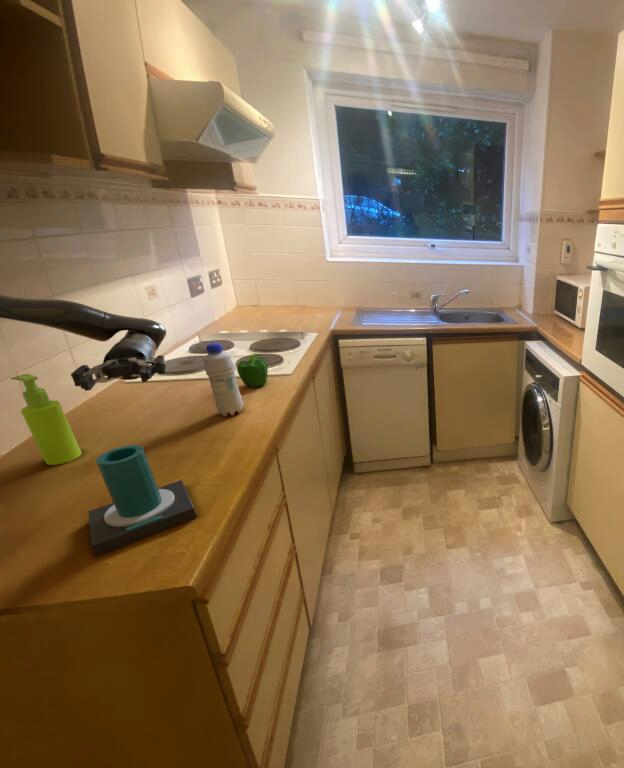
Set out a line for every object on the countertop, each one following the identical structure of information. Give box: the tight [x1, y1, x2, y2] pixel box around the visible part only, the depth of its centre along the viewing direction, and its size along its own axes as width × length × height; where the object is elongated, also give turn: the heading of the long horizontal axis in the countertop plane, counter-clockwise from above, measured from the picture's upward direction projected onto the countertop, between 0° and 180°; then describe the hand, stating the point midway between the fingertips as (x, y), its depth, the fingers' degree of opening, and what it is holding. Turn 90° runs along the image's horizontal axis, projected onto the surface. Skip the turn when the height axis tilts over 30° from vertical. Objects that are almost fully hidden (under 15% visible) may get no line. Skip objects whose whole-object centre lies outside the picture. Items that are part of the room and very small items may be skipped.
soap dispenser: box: [10, 373, 82, 466], centre depth 95 cm, size 6×7×20 cm
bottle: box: [203, 342, 244, 417], centre depth 117 cm, size 7×7×20 cm
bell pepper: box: [237, 352, 269, 388], centre depth 137 cm, size 8×8×10 cm
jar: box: [96, 444, 162, 518], centre depth 77 cm, size 6×6×11 cm
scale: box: [88, 479, 198, 557], centre depth 79 cm, size 14×12×3 cm
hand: (114, 381), depth 83 cm, fingers open, 8 cm apart
